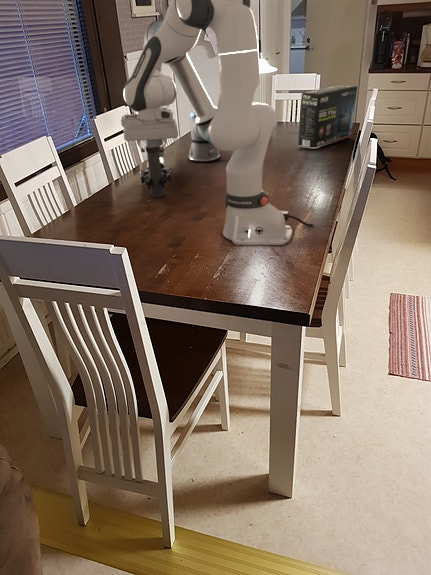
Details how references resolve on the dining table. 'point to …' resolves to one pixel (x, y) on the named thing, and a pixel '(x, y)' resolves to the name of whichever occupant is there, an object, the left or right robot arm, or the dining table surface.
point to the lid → (152, 148)
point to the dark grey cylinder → (155, 174)
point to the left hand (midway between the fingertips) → (156, 185)
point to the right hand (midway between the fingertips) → (152, 151)
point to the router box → (326, 115)
